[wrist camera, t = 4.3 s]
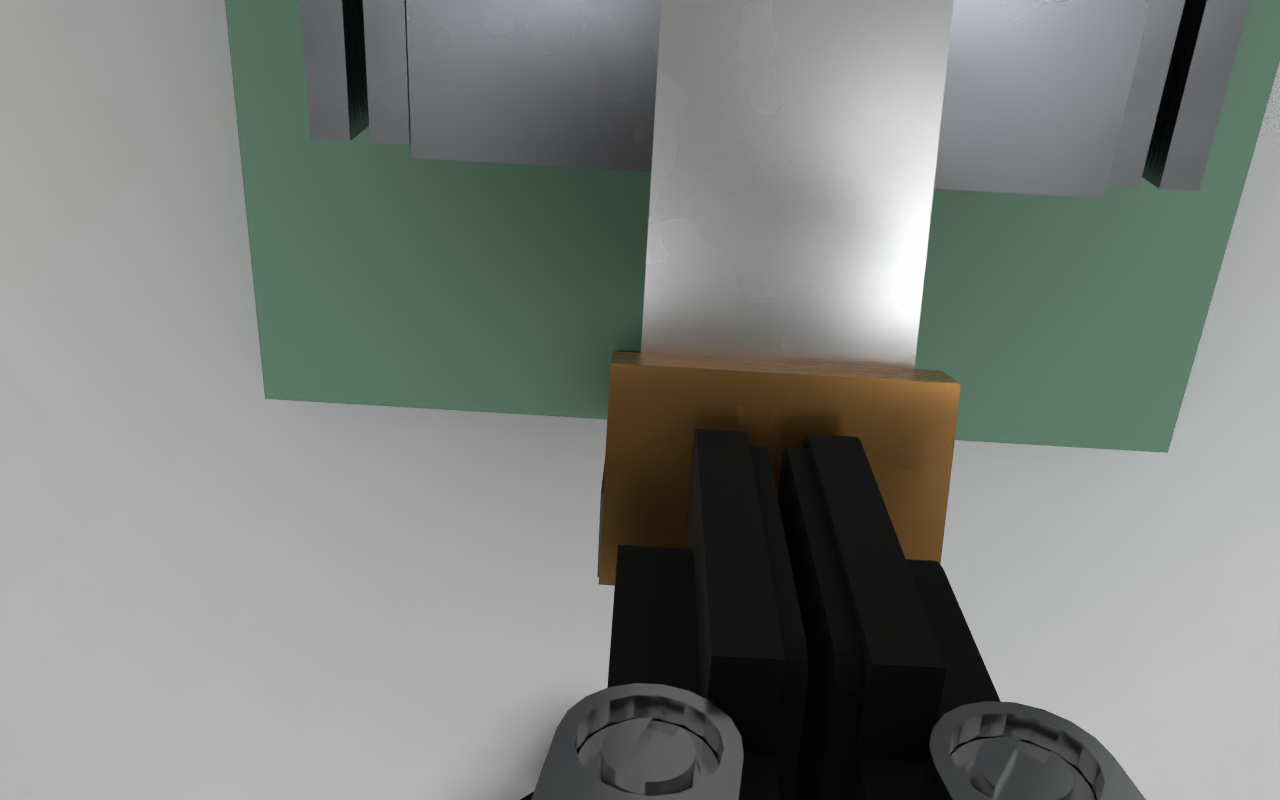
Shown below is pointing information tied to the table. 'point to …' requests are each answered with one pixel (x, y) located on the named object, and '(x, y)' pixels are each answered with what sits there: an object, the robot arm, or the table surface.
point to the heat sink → (627, 77)
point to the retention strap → (786, 257)
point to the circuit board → (616, 265)
